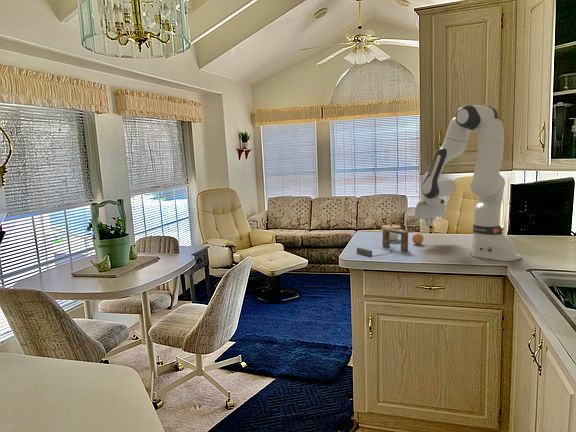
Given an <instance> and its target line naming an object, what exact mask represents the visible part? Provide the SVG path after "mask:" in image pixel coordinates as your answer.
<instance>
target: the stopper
mask: <svg viewBox="0 0 576 432" xmlns="http://www.w3.org/2000/svg"><path fill="white" fill-rule="evenodd" d="M356 253H357V254H359V255H364V256H366V257H367V256H368V257H371V256H372V250H368V249H367V248H364V247H356Z"/></svg>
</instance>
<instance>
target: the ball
mask: <svg viewBox="0 0 576 432" xmlns="http://www.w3.org/2000/svg"><path fill="white" fill-rule="evenodd" d="M411 240H412V242H413V243H414V245H421V244H422V243H423V242H424V236H423V234H422V233H419V232H416V233H414V234H413V235H412V236H411Z"/></svg>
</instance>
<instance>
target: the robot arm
mask: <svg viewBox="0 0 576 432" xmlns="http://www.w3.org/2000/svg"><path fill="white" fill-rule="evenodd" d="M473 130H475V131H476V132H477V135H478V137H477V138H478V139H477V150H476V152H477V155H476V161H475V162H476V163H475V168H474V172H473V175H472V176H473V177H472V180H471V182H470V190H471V192H472V193H473V194H474V195H475V196H477V201H476V204H475V206H474V207H475V208H474V221H473V222H474V223H473V225H472V234H473V236H472V242H471V247H470V250H469V254H470V255H471V257H474V258H475V257H476V258H480V259H487V260H488V259H489V260H493V261H494V260H495V261H500V262H511V261H517V260H519V259H521V258H522V255H521V254H518V253H517V249H516V246H515V243H513V241H511V240H510V239H509V238H508V237H507V236H506V235H505V234H504V232H503V231H504V230H506V229H505V228H506V227H503V228H502V226H501V225H500V222H501V221H500V220H501V209H502V207H501V206H502V201H503V196H504V188H505V185H506V180H505V178H504V176H503V175H501V174H500V172H501V167H502V163H503V161H504V148H505V147H504V146H505V132H504V124H503V122H502V121H501V120H500V119H499V114H498V110H496V108H494V107H492V106H488V105H486V106H485V105H480V104H466V105H463V106H461V107H459V108H458V109H457V111H456V112H455V117H453V118H452V119H451V121H450V122H449V125H448V127H447V129H446V133H445V136H444V140H443V142H442V144H441V146H440V147H439V149H438V150H437V151H436V153H435V155H434V157H433V160H432V162H431V165H430V168H429V170H428V171H427V172H425V173H424V174H423V178H422V185H421V193H422V194H421V201H419V202H417V203H416V207H415V211H414V219H415V220H424V221H425V226H426V227H432V226H433V222H434V220H435V218H438V217H444V215H445V209H446V205H445V203H446V199H443V198H444V197H449V196H452V195H453V194H454V193H455V191H456V183H455V181H454V180H453V179H451V178H448V177H446V176H444V175H442V172H443V169H444V167H445V166H446V164H447V163H449V162H450V161H451V160H453V159H456V158H457V157H460V156H461V155H463V153H464V152H465V150H466V149H467V145H468V142H469V138H470V134H471V133H472V132H473Z"/></svg>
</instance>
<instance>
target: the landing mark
mask: <svg viewBox="0 0 576 432" xmlns="http://www.w3.org/2000/svg"><path fill="white" fill-rule="evenodd" d="M368 250H372V256H373V257H377V256H383V255H386V254H392V253H393V252H392V251H388V250H386V249H385V250H384V249H380V248H369V249H368Z"/></svg>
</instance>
